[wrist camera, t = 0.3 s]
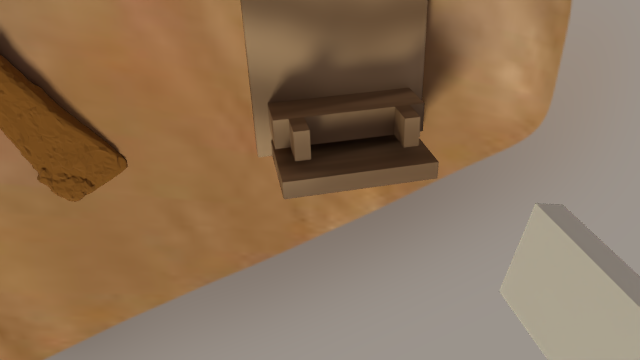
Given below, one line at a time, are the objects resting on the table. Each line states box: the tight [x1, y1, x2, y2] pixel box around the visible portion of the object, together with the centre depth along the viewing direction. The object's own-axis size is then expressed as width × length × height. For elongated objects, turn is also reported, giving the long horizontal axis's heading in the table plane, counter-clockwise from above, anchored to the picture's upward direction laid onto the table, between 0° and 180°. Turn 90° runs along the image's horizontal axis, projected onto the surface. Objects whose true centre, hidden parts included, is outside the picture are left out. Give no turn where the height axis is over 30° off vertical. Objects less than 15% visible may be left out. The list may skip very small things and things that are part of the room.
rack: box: [241, 0, 439, 199], centre depth 33 cm, size 20×12×7 cm, turn 2°
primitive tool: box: [0, 55, 128, 202], centre depth 33 cm, size 19×6×4 cm, turn 32°
